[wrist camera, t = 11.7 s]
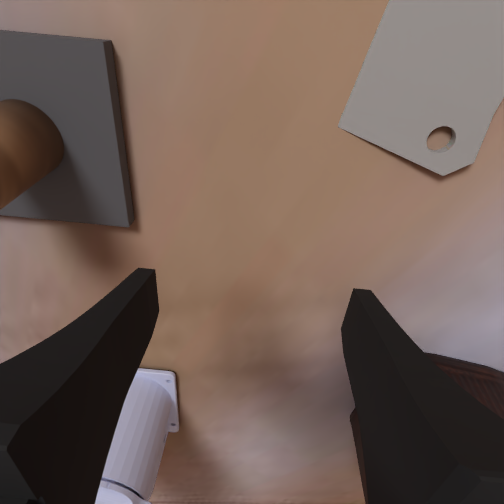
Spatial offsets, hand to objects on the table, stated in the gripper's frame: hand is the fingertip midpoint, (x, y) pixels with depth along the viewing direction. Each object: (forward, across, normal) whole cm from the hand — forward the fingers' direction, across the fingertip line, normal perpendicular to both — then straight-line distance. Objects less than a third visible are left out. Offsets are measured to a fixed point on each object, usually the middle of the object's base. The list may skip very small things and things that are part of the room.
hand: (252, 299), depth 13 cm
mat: (+10, +13, -2) cm, 16 cm away
